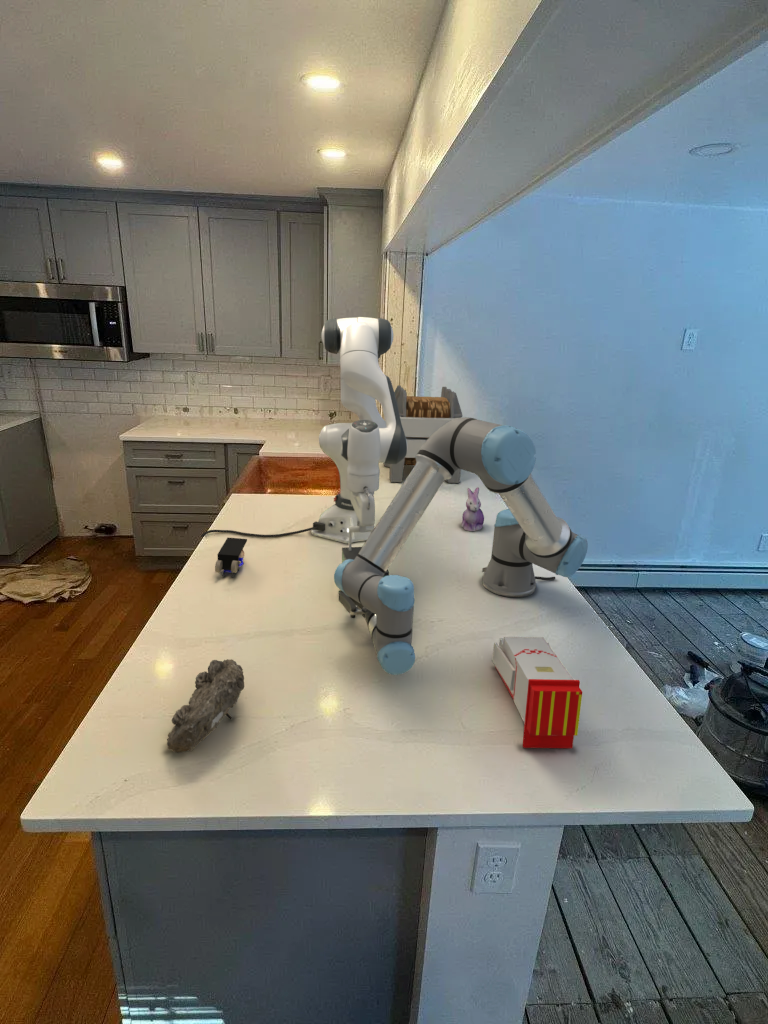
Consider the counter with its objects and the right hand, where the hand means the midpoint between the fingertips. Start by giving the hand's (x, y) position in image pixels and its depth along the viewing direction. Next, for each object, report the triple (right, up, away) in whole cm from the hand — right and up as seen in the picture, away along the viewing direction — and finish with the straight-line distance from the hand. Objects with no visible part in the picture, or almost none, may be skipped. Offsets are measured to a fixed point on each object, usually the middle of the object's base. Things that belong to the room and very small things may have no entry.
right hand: (367, 579), depth 150 cm
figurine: (+37, +12, +59) cm, 71 cm away
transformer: (+22, +37, +125) cm, 132 cm away
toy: (+34, -21, -33) cm, 52 cm away
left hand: (-2, +13, +8) cm, 15 cm away
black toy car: (-40, +1, +18) cm, 44 cm away
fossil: (-28, -21, -42) cm, 55 cm away
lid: (-1, +4, +4) cm, 6 cm away
